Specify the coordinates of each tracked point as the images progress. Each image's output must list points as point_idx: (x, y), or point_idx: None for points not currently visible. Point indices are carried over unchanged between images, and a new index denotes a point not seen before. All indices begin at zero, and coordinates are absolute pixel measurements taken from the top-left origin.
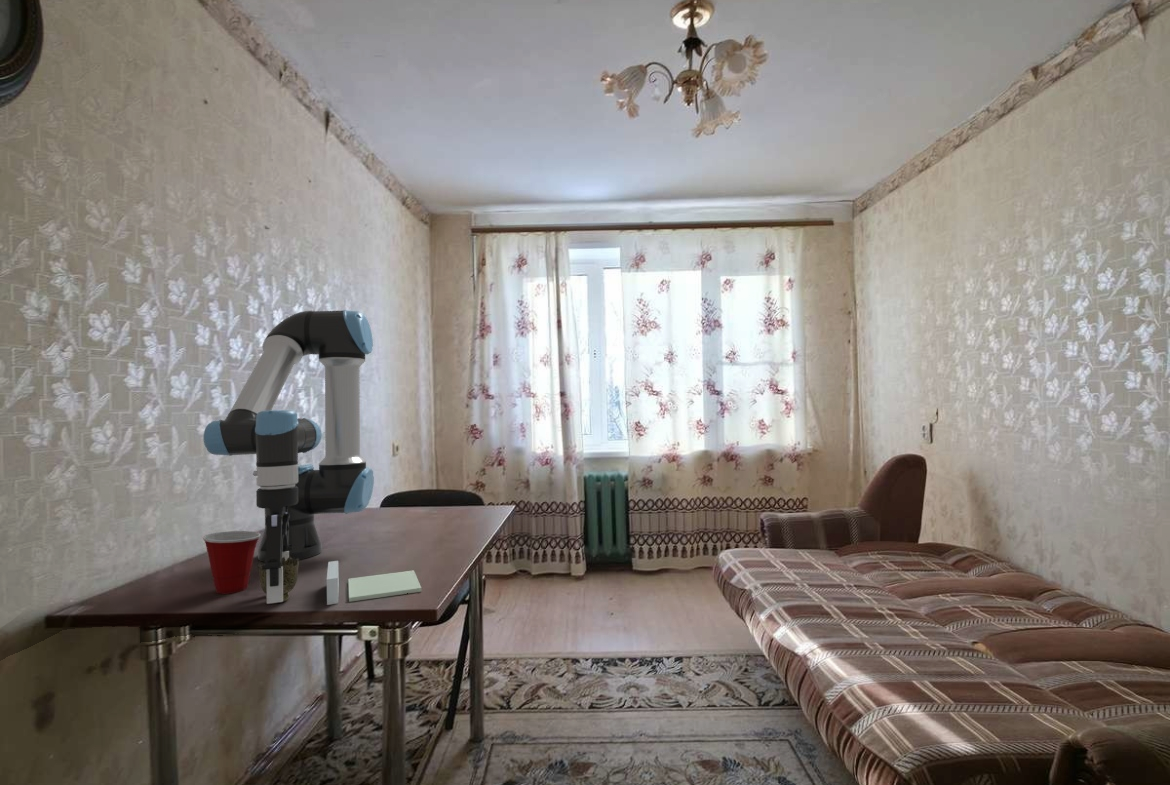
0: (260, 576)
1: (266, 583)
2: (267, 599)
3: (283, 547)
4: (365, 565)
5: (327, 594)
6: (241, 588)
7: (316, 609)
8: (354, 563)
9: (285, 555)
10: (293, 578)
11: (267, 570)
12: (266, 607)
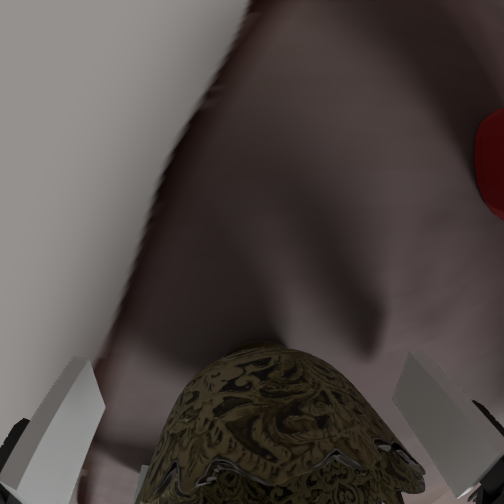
0: (209, 416)
1: (173, 409)
2: (67, 370)
3: (495, 489)
4: None
5: (137, 488)
6: (487, 199)
7: (109, 444)
8: None
9: (457, 478)
10: (214, 488)
11: (3, 477)
12: (183, 328)
